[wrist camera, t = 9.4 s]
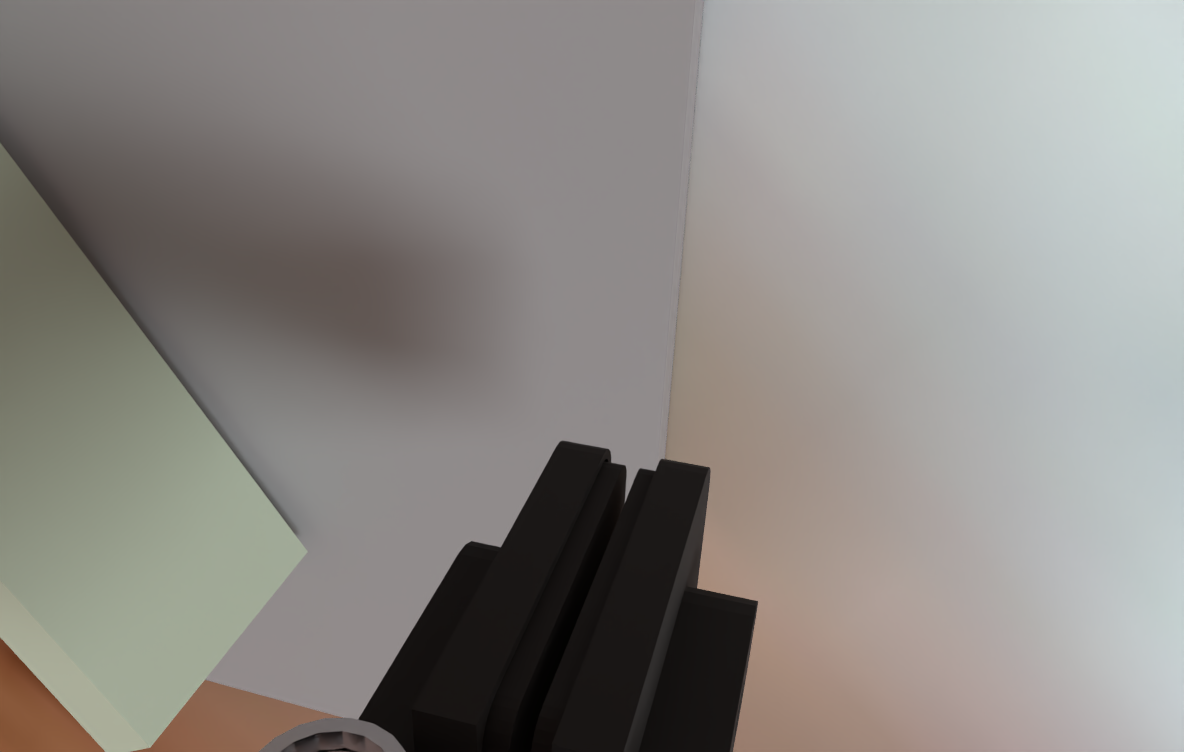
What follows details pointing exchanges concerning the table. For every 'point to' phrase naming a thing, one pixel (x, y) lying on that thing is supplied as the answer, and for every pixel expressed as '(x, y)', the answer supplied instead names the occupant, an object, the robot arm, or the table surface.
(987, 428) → the table surface
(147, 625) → the gate panel
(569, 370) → the board
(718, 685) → the robot arm
